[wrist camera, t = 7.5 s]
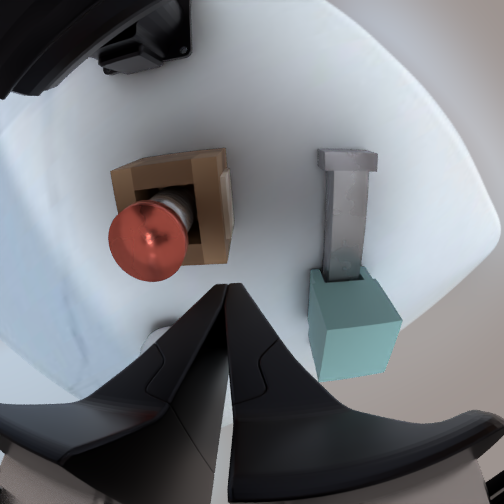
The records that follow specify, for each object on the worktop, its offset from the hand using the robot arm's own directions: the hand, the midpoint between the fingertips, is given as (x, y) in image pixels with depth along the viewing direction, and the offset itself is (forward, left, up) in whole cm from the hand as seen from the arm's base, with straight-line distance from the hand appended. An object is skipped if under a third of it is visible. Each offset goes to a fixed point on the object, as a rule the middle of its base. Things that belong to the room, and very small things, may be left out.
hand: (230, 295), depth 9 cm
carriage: (+8, +7, -12) cm, 16 cm away
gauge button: (-1, -4, -8) cm, 9 cm away
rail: (+5, +7, -12) cm, 15 cm away
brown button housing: (-1, -4, -12) cm, 12 cm away
